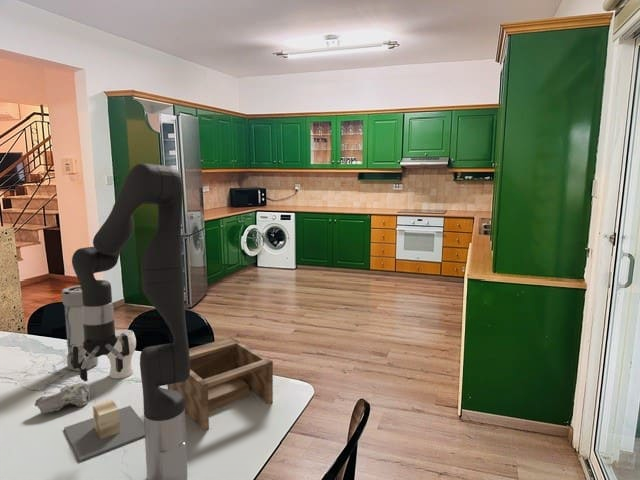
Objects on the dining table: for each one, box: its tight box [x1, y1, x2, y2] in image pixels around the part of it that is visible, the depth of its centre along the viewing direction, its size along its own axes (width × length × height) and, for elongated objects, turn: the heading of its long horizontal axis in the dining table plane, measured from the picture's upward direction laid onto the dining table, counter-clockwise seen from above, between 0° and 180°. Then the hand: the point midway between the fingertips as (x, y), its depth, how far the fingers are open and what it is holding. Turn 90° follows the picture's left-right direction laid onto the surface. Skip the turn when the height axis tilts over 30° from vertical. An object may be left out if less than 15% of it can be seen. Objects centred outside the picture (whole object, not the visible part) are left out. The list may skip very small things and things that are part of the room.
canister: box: [61, 285, 99, 372], centre depth 158 cm, size 10×10×30 cm
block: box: [92, 398, 120, 439], centre depth 120 cm, size 7×5×7 cm
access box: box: [166, 336, 274, 432], centre depth 138 cm, size 26×24×14 cm
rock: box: [34, 382, 92, 414], centre depth 132 cm, size 16×7×7 cm, turn 140°
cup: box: [105, 329, 137, 380], centre depth 153 cm, size 11×11×15 cm
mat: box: [63, 405, 145, 463], centre depth 120 cm, size 18×18×1 cm
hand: (102, 375), depth 117 cm, fingers open, 8 cm apart
